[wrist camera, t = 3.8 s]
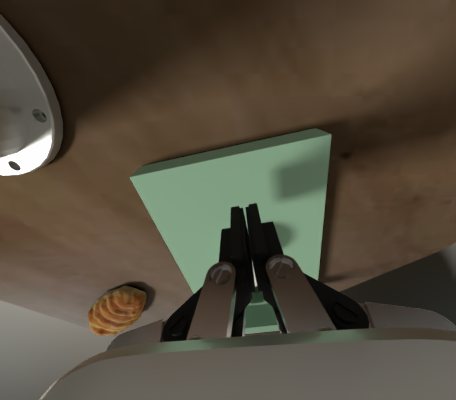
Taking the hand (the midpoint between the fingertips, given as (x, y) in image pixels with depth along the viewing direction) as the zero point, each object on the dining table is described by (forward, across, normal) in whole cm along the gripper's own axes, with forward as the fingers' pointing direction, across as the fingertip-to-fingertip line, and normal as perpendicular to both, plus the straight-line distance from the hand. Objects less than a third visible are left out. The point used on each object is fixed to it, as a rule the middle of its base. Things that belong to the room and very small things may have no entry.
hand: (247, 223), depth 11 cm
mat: (+6, +1, +7) cm, 10 cm away
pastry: (+6, +22, +16) cm, 28 cm away
